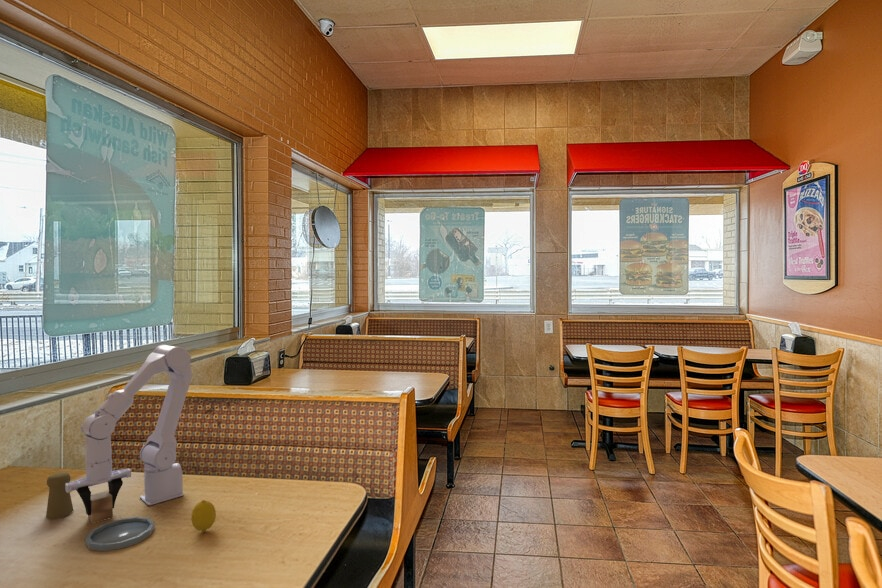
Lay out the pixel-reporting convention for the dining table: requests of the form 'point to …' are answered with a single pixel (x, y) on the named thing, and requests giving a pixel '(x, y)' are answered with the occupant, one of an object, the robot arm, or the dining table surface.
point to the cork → (58, 496)
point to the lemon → (203, 515)
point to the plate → (119, 533)
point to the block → (101, 506)
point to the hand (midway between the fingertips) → (100, 510)
